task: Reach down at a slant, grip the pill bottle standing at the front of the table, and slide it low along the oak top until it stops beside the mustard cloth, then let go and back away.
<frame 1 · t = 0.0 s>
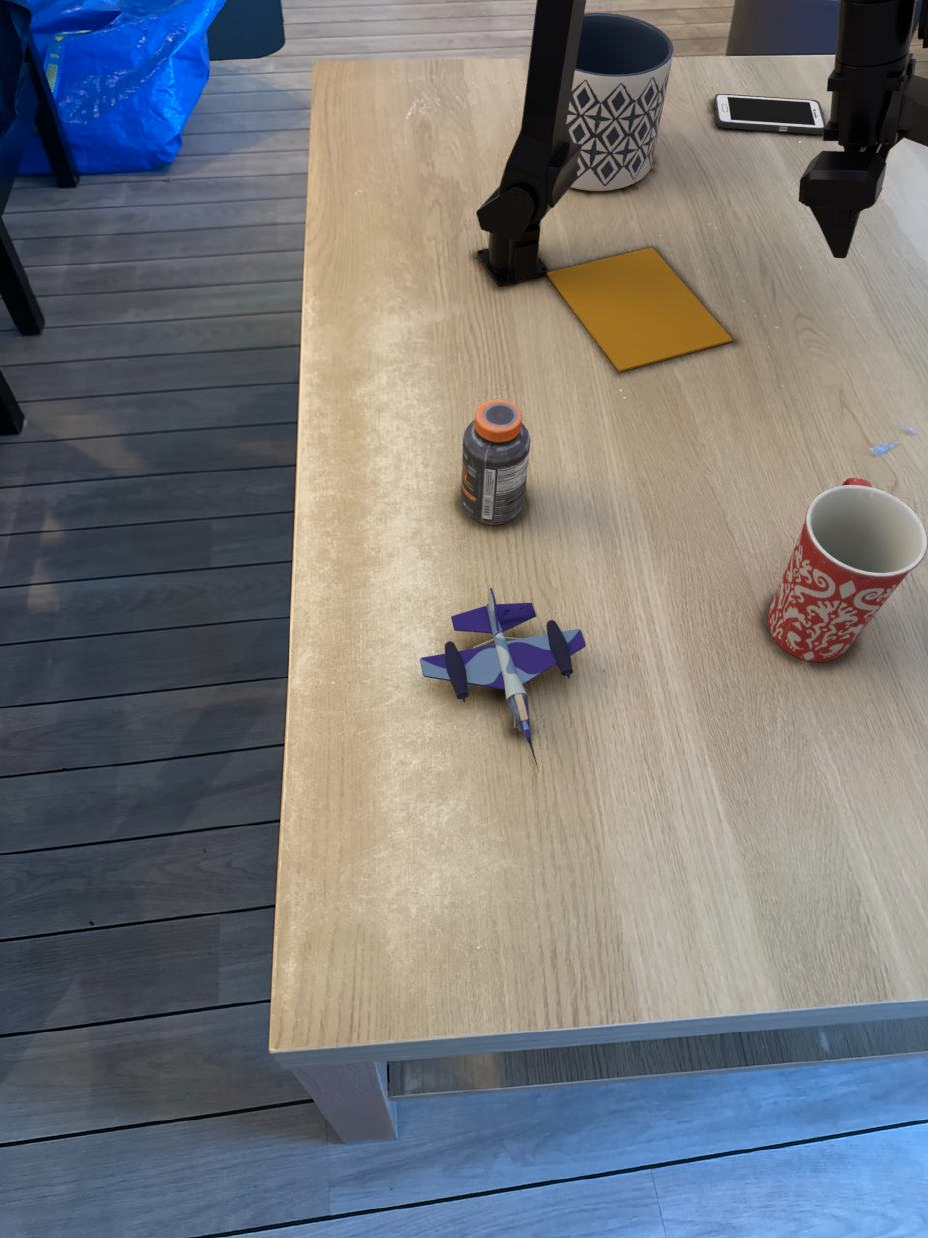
hand: (852, 231, 91), 15 cm above the table, tool pointing down, fingers open, 9 cm apart
planter: (590, 161, 125), on the table
mug: (810, 614, 84), on the table
cloth: (636, 307, 108), on the table
pill bottle: (492, 504, 91), on the table
toy airplane: (506, 688, 79), on the table
cell phone: (767, 118, 132), on the table
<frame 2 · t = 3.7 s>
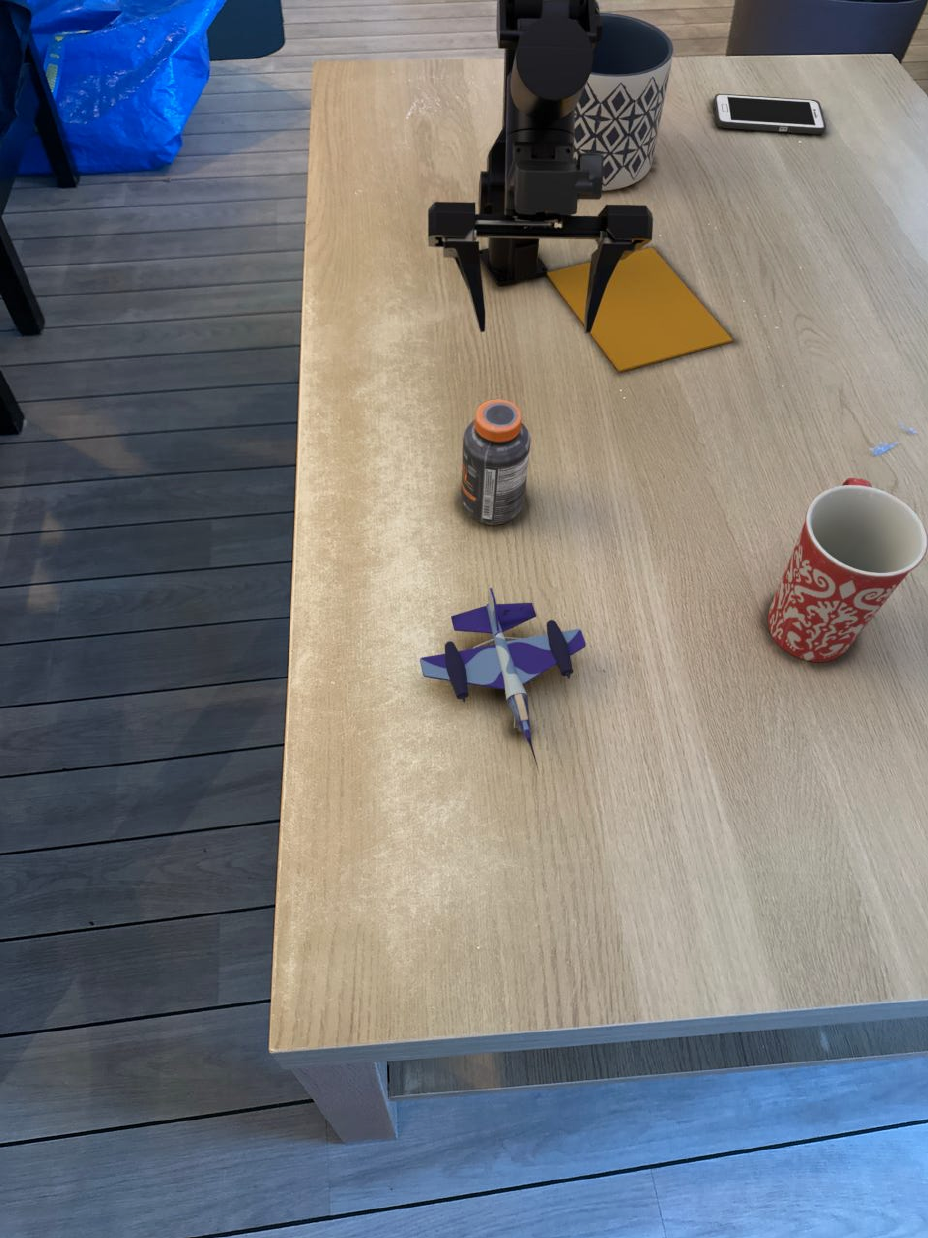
hand: (535, 332, 84), 14 cm above the table, tool tilted 40°, fingers open, 9 cm apart
nothing on the table moved.
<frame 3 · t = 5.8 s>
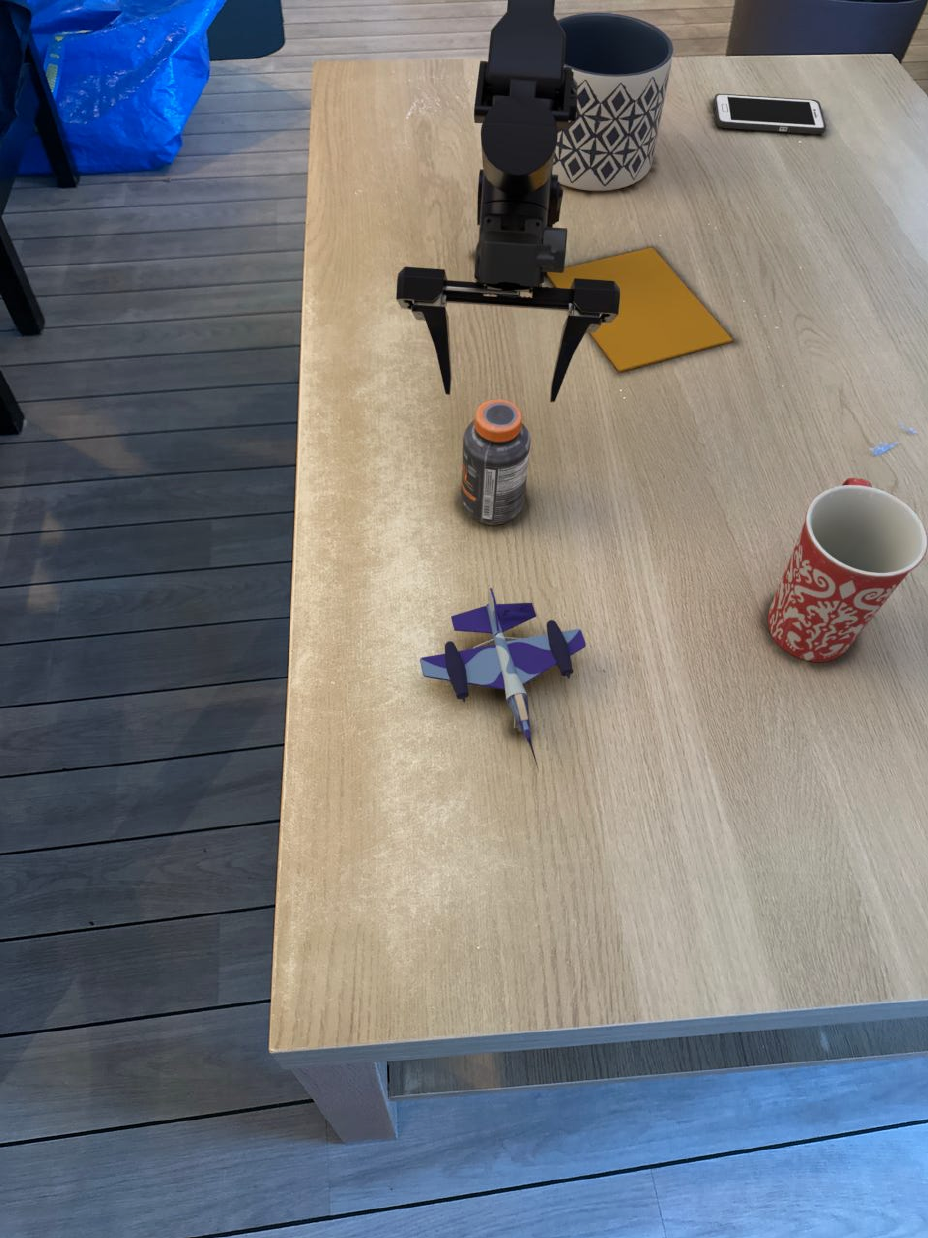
hand: (500, 398, 84), 10 cm above the table, tool tilted 45°, fingers open, 9 cm apart
nothing on the table moved.
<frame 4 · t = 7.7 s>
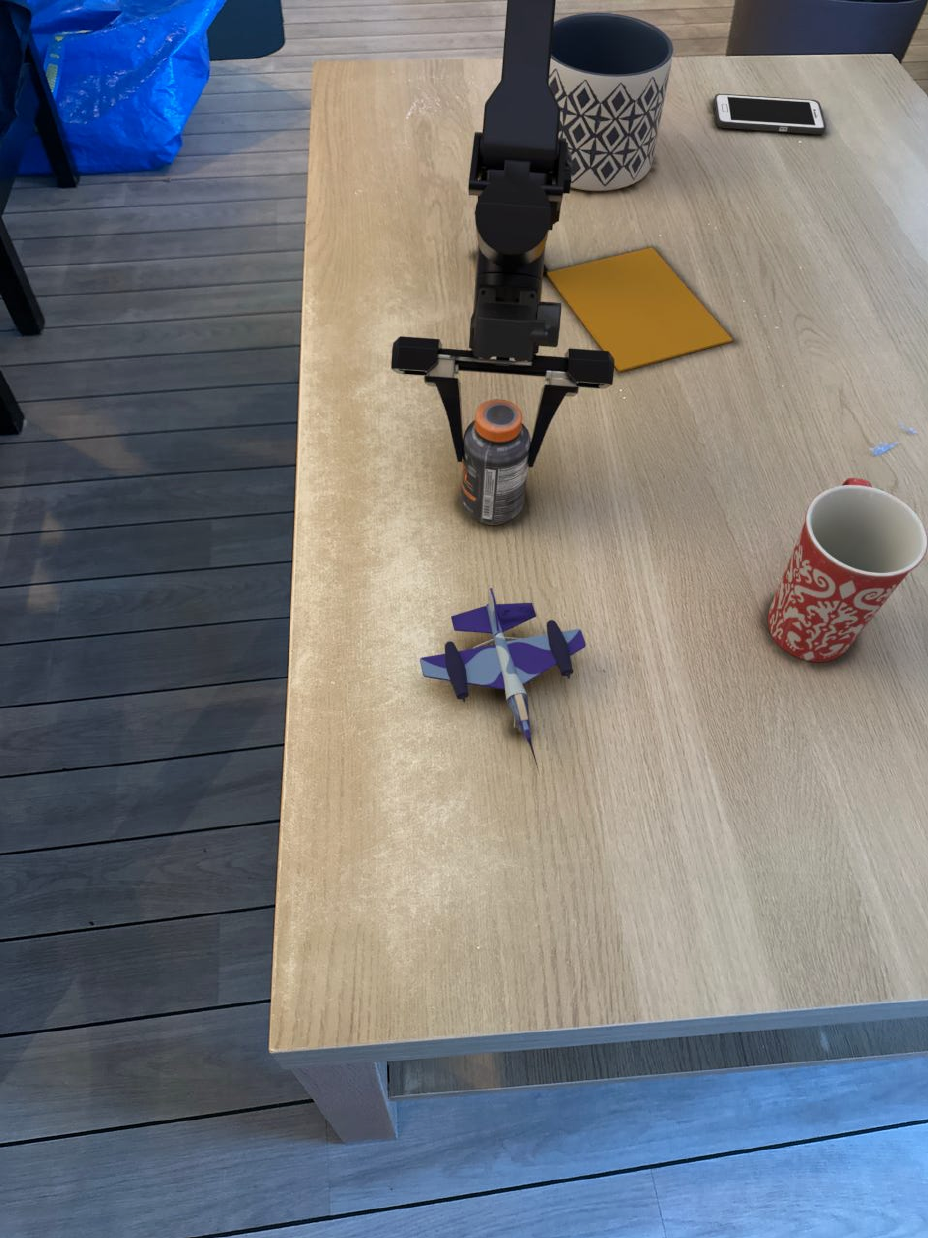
hand: (494, 464, 84), 7 cm above the table, tool tilted 45°, fingers closed on pill bottle, 6 cm apart
pill bottle: (492, 504, 91), on the table, touching gripper
everything else where it was.
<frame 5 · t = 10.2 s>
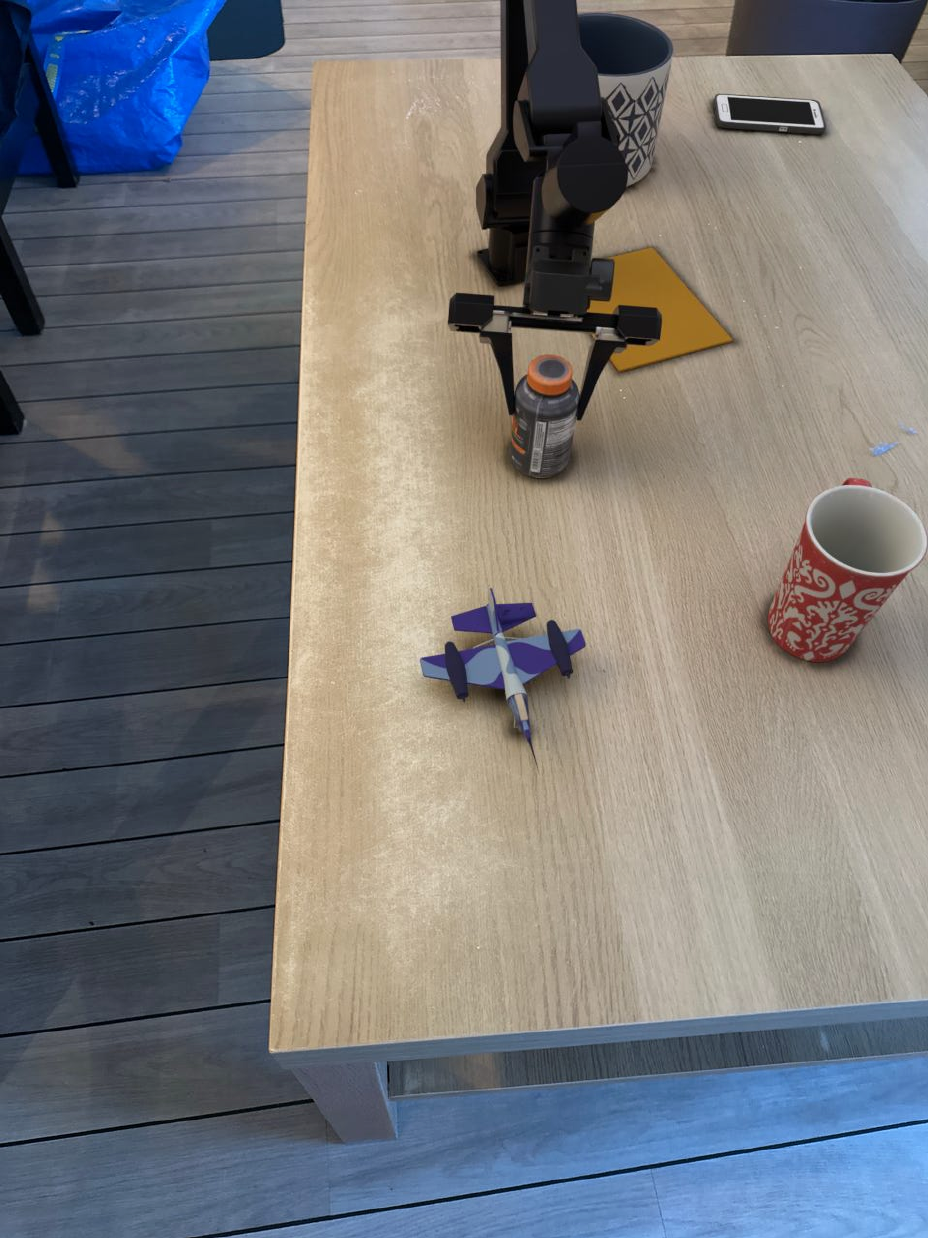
hand: (544, 417, 88), 7 cm above the table, tool tilted 45°, fingers closed on pill bottle, 6 cm apart
pill bottle: (538, 459, 94), on the table, touching gripper
everything else where it was.
when the fingers open (7 cm above the table, at t = 13.2 s): pill bottle stays where it is, on the table.
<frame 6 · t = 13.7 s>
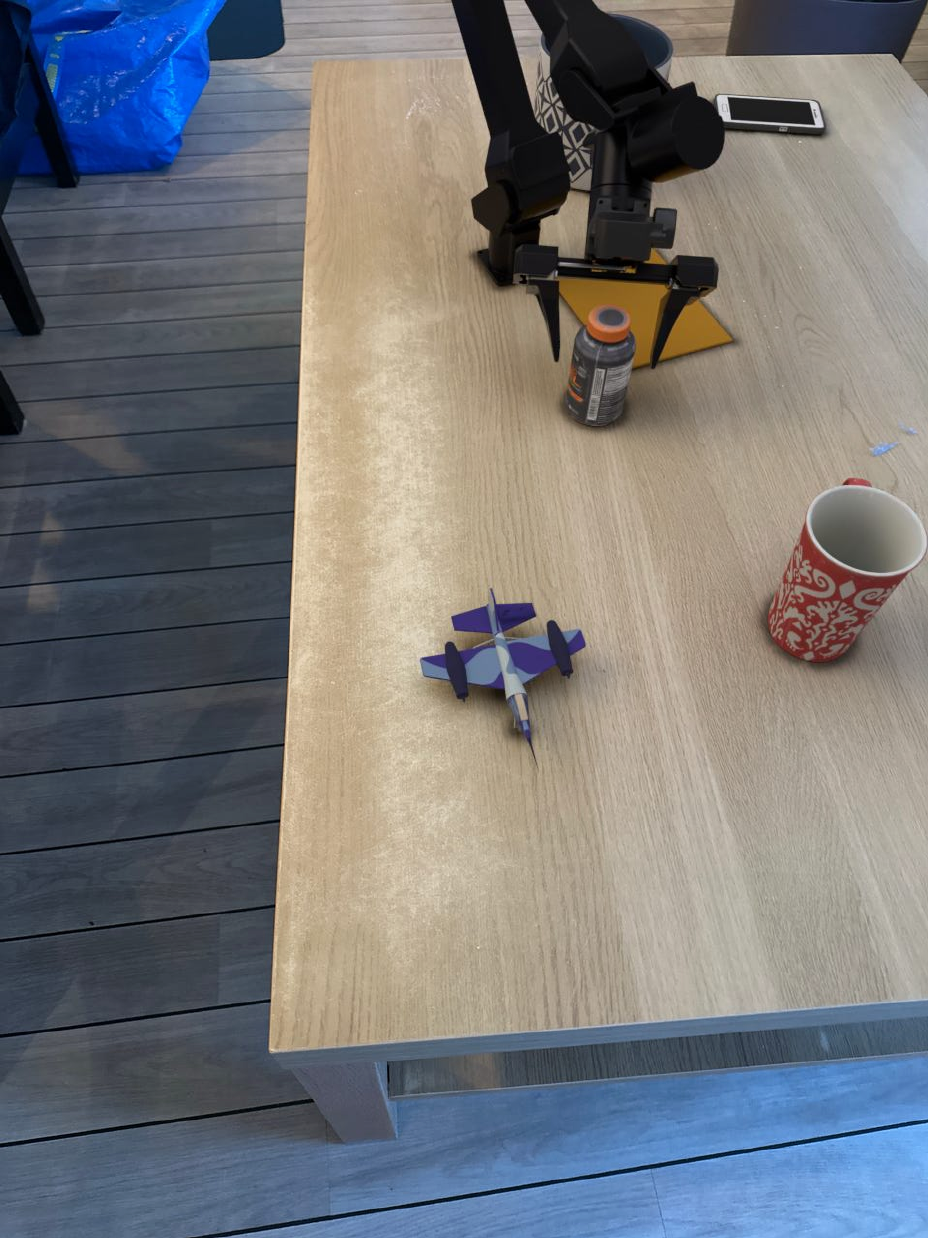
hand: (604, 365, 92), 7 cm above the table, tool tilted 45°, fingers open, 9 cm apart
pill bottle: (593, 409, 98), on the table
everything else where it was.
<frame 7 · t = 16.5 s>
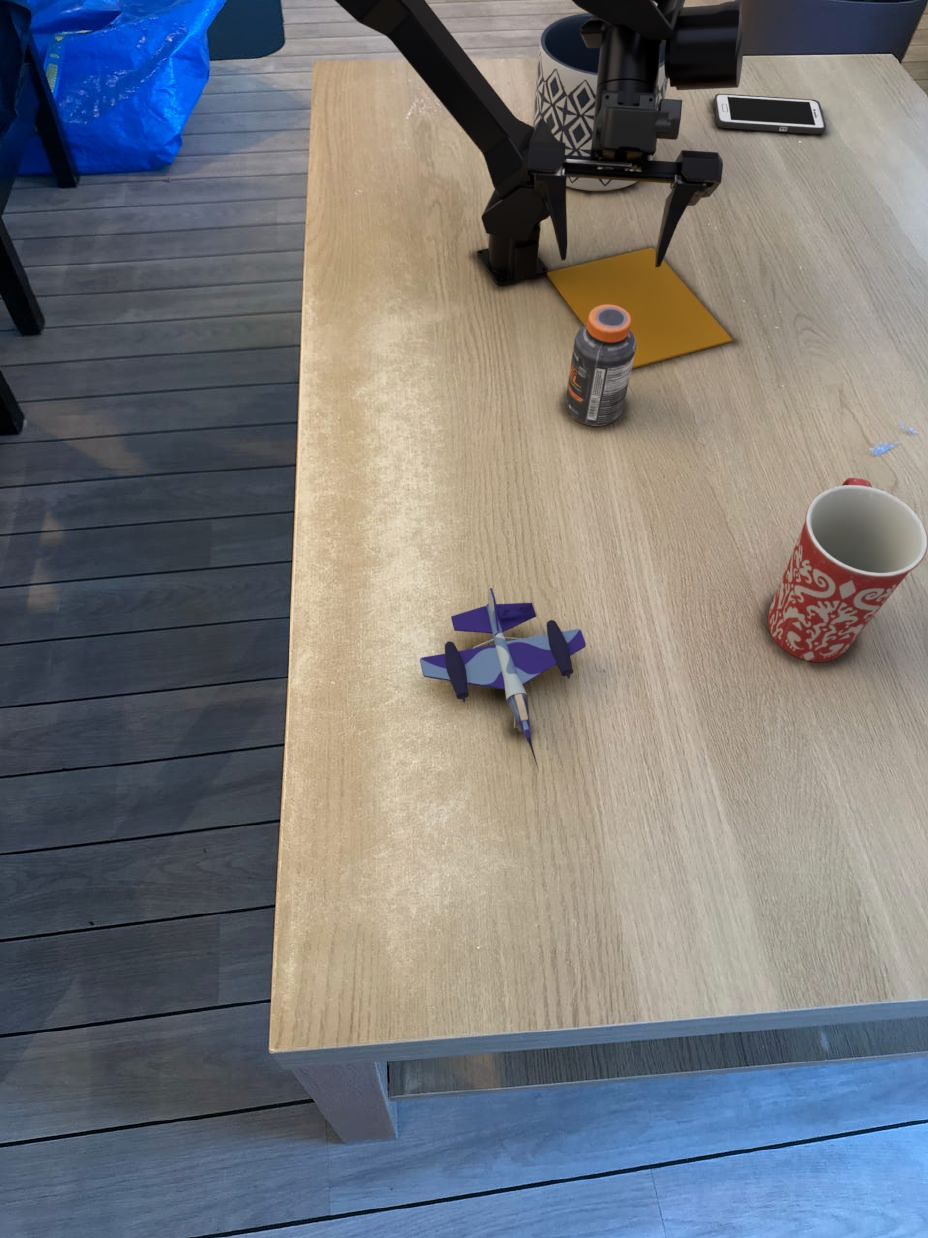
hand: (610, 263, 94), 11 cm above the table, tool tilted 45°, fingers open, 9 cm apart
nothing on the table moved.
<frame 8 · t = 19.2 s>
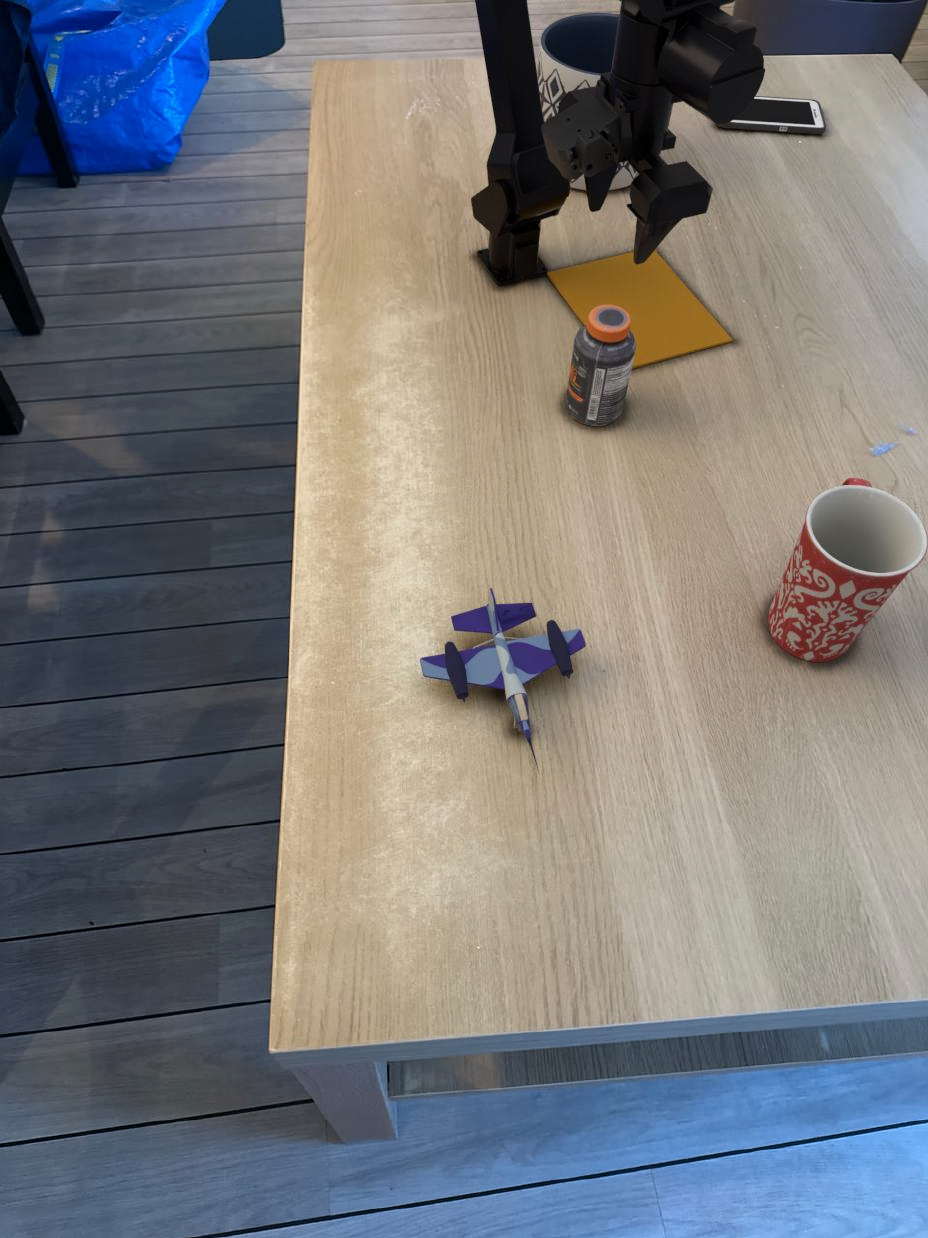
hand: (616, 235, 93), 13 cm above the table, tool pointing down, fingers open, 9 cm apart
nothing on the table moved.
at the end: pill bottle 17.6 cm from the cloth (horizontally); pill bottle moved 17.0 cm from its start; pill bottle tilted 0° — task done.
